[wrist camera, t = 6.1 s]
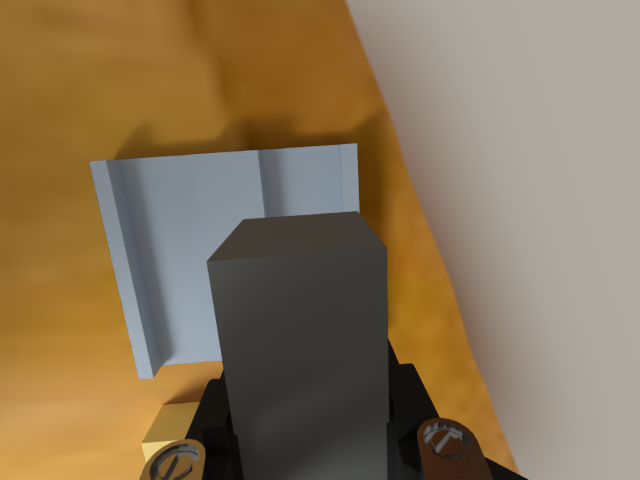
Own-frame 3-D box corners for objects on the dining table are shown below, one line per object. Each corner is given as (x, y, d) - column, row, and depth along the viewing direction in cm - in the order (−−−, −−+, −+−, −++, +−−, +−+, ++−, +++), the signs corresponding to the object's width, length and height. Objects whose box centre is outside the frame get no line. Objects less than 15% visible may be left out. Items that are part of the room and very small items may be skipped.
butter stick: (171, 437, 29) (151, 482, 25) (164, 402, 28) (141, 443, 24) (302, 426, 29) (302, 468, 25) (299, 391, 28) (297, 429, 24)
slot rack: (154, 358, 27) (139, 379, 24) (111, 160, 23) (88, 161, 20) (359, 341, 27) (365, 360, 25) (351, 143, 23) (356, 143, 21)
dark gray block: (242, 219, 11) (205, 261, 7) (357, 210, 11) (386, 248, 7) (278, 495, 13) (266, 636, 10) (367, 488, 13) (392, 625, 10)
